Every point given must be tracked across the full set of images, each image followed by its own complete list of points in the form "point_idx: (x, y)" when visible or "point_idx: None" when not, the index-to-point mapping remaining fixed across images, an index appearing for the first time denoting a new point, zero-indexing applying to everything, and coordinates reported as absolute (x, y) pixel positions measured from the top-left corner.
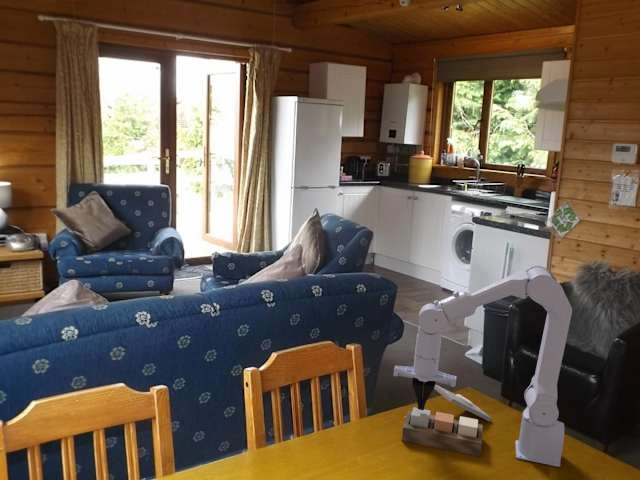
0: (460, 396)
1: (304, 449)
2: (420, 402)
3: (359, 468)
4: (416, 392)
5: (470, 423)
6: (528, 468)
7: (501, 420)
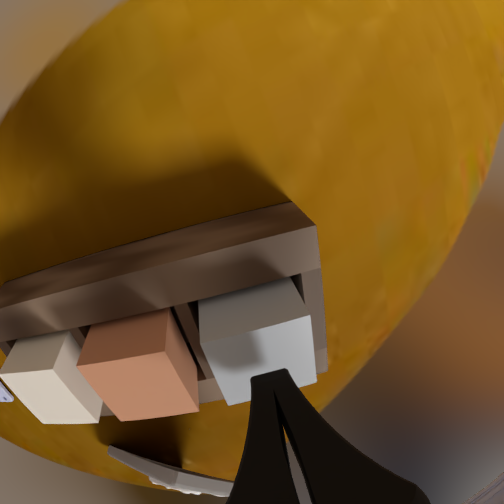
0: (182, 491)
1: (499, 13)
2: (285, 409)
3: None
4: (351, 459)
5: (33, 393)
6: None
7: (97, 454)
